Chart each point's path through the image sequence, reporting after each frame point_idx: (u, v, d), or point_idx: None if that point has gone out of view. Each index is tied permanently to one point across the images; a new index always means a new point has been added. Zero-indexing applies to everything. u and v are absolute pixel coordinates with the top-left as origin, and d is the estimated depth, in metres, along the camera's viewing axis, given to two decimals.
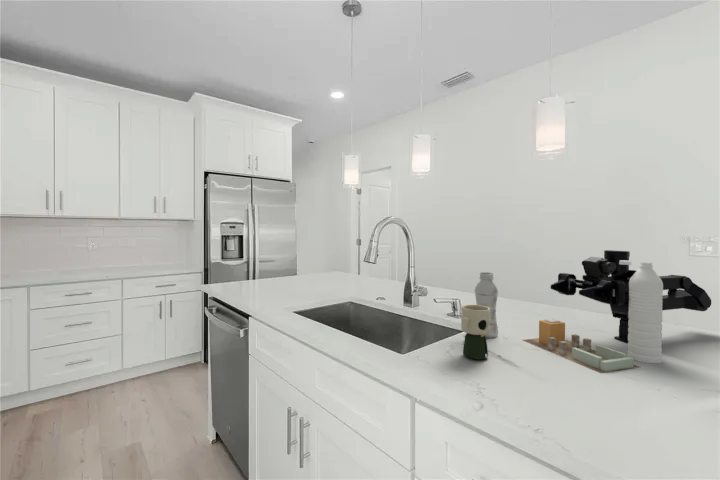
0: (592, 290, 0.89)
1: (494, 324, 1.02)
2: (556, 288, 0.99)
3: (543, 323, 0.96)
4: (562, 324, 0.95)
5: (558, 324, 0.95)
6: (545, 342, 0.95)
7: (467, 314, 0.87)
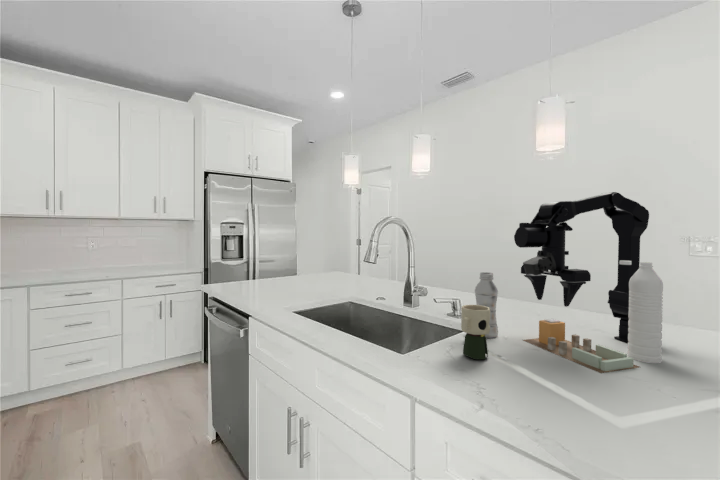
0: (568, 295, 0.91)
1: (494, 324, 1.02)
2: (541, 293, 1.01)
3: (543, 323, 0.96)
4: (562, 324, 0.95)
5: (558, 324, 0.95)
6: (545, 342, 0.95)
7: (467, 314, 0.87)
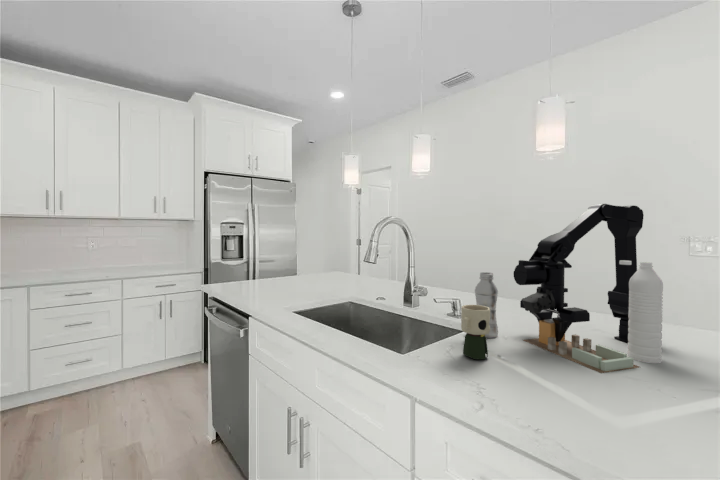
0: (560, 331, 0.93)
1: (494, 324, 1.02)
2: None
3: (543, 323, 0.96)
4: None
5: None
6: (545, 342, 0.95)
7: (467, 314, 0.87)
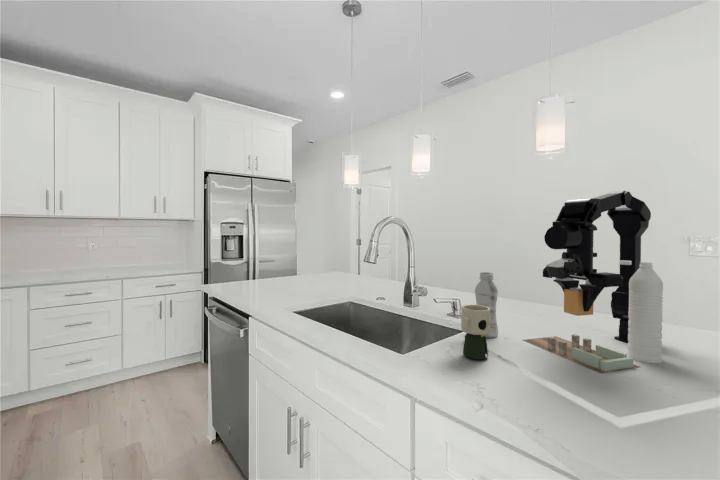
0: (588, 299, 0.85)
1: (494, 324, 1.02)
2: None
3: (569, 291, 0.88)
4: None
5: None
6: (571, 312, 0.87)
7: (467, 314, 0.87)
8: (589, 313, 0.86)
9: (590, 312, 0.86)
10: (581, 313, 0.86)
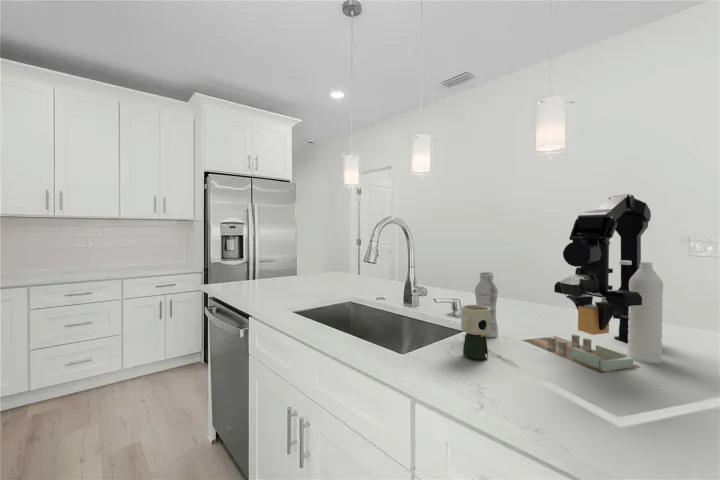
0: (604, 318, 0.81)
1: (494, 324, 1.02)
2: None
3: (584, 309, 0.84)
4: None
5: None
6: (586, 330, 0.83)
7: (467, 314, 0.87)
8: (605, 331, 0.83)
9: (606, 330, 0.83)
10: (597, 332, 0.82)
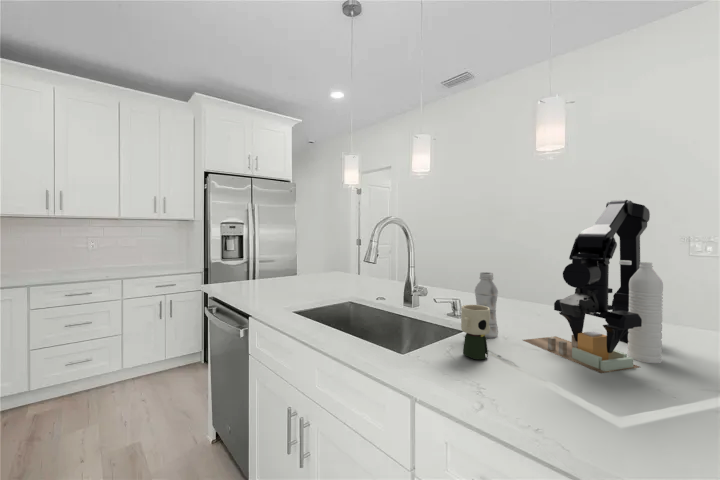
0: (612, 341, 0.79)
1: (494, 324, 1.02)
2: None
3: (583, 336, 0.84)
4: (605, 338, 0.83)
5: (601, 338, 0.82)
6: None
7: (467, 314, 0.87)
8: (604, 359, 0.83)
9: (605, 358, 0.83)
10: None
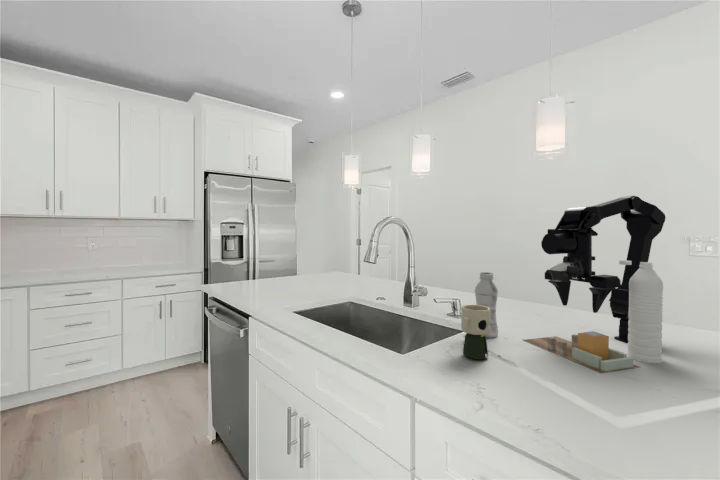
0: (597, 301, 0.90)
1: (494, 324, 1.02)
2: (566, 299, 1.00)
3: (583, 336, 0.84)
4: (605, 338, 0.83)
5: (601, 338, 0.82)
6: None
7: (467, 314, 0.87)
8: (604, 359, 0.83)
9: (605, 358, 0.83)
10: None
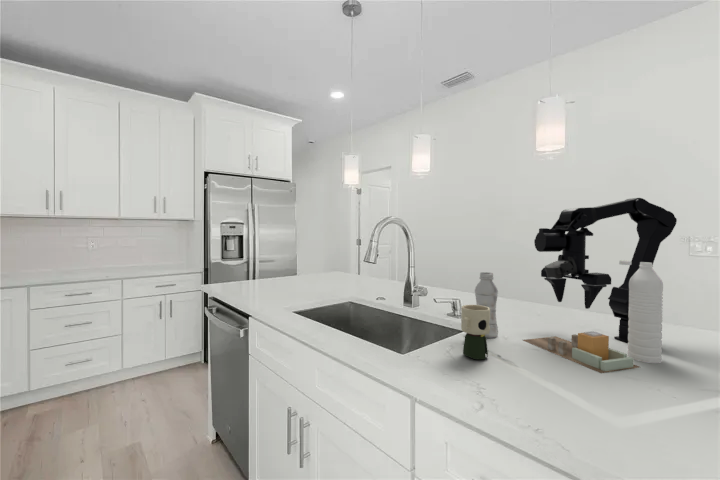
0: (589, 298, 0.94)
1: (494, 324, 1.02)
2: (561, 296, 1.04)
3: (583, 336, 0.84)
4: (605, 338, 0.83)
5: (601, 338, 0.82)
6: None
7: (467, 314, 0.87)
8: (604, 359, 0.83)
9: (605, 358, 0.83)
10: None
